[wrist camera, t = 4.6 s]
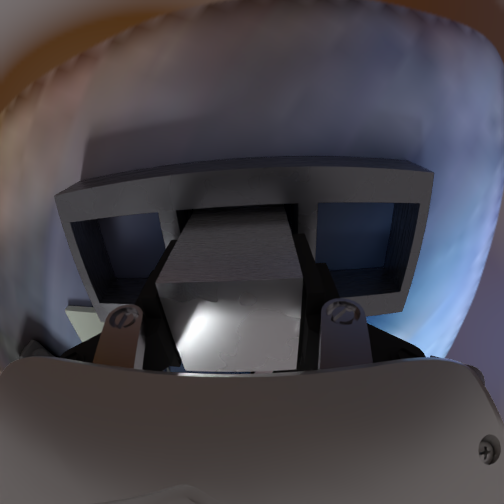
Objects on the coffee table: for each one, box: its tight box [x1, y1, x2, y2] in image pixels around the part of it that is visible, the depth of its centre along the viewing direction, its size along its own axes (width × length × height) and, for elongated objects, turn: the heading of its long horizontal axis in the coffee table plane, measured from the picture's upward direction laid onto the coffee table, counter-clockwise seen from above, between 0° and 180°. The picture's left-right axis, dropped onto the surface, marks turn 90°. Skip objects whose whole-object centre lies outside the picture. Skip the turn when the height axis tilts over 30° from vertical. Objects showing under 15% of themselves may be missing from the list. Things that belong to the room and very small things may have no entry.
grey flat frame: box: [54, 156, 434, 322], centre depth 13 cm, size 18×8×2 cm, turn 93°
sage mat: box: [65, 306, 170, 372], centre depth 18 cm, size 7×7×1 cm
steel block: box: [155, 204, 303, 372], centre depth 11 cm, size 4×4×7 cm
